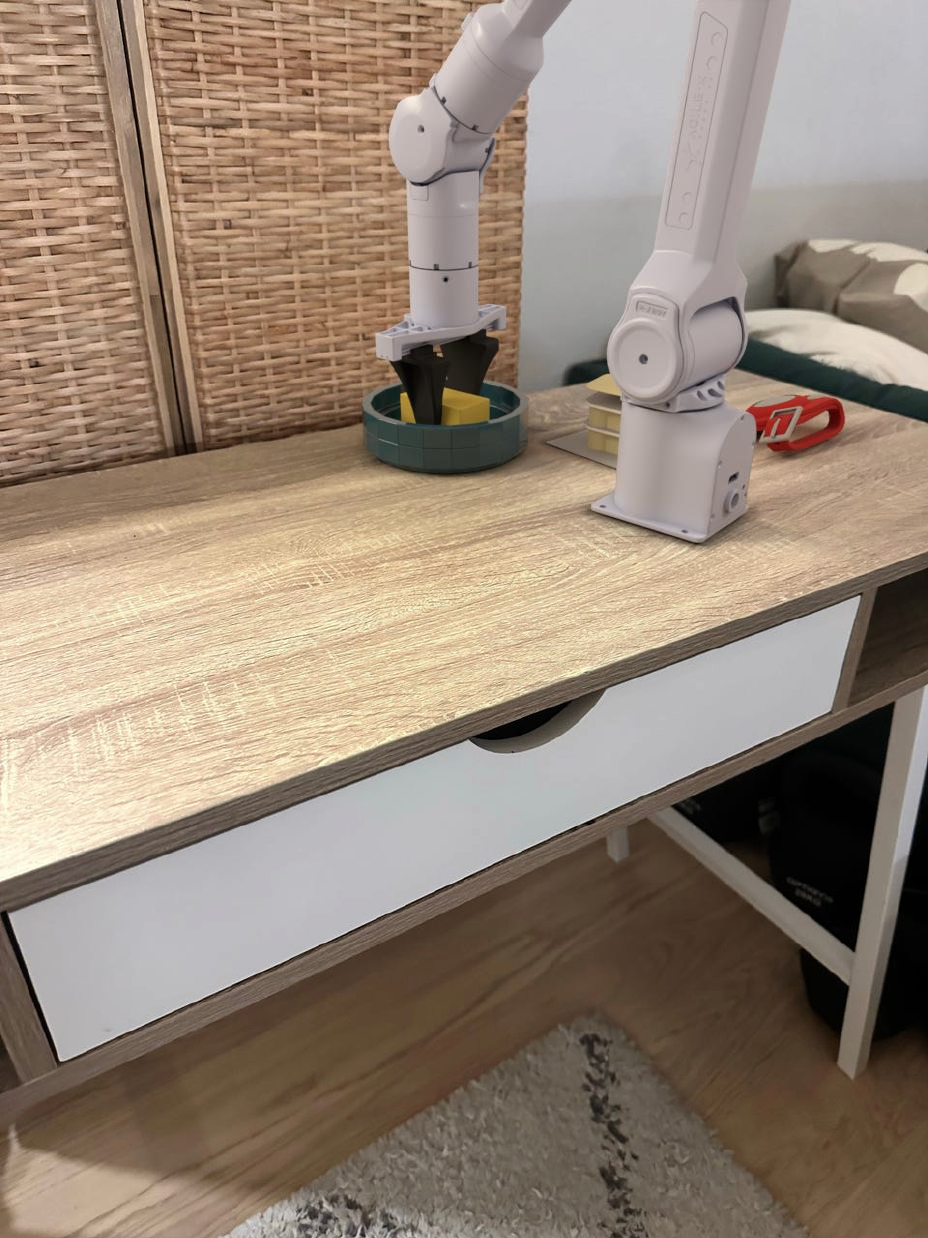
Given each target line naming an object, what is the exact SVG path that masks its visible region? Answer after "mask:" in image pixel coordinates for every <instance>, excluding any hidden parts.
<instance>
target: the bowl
mask: <svg viewBox="0 0 928 1238" xmlns="http://www.w3.org/2000/svg"><path fill="white" fill-rule="evenodd" d="M444 388H448V381H447V377H446V381H445V386H444ZM405 392H406V391H405V388H404V386H403V384H402V382H401V381H398V382H393V383H391V384H387V385H384V386H381V387H378V388H376V389H374V390H372V391H371V392H369V393H367V394H366V395H365V397H364V398H363V400H362V402H361V416H362V417H361V418H362V434H363V435H362V436H363V444H364V446H365V448H366V450H367V452H369V453H370V454H372V455H373V456H375V457H376V458H377V459H379V460H380V461H381V462H383V463H385V464H388V465H390V466H393V467H394V468H395V467H396V468H399V469H402V470H407V471H411V472H419V473H427V474H461V473H470V472H471V473H472V472H477V471H483V470H487V469H491V468H495V467H498V466H501V465H502V464H505V463H507V462H509V461H511V460H512V459H513V458H515V457H517V456H519V455H520V454H521V453H522V452H523V451H524V450H525V449H526V448H527V447H528V442H529V413H530V398H529V397H528V396H527V394H526V393H524V392H523V391H522V390H520V389H518V388H515V387H514V386H511V385H509V384H507V383H502V382H498V381H493V380H489V379H484V380H483V383H482V387H481V390H480V394H479V396H480V397H484V398H488V399H490V405H489V420H488V421H483V422H479V423H472V424H460V425H424V424H416V423H409V422H402V421H401V394H402V393H405Z"/></svg>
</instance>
